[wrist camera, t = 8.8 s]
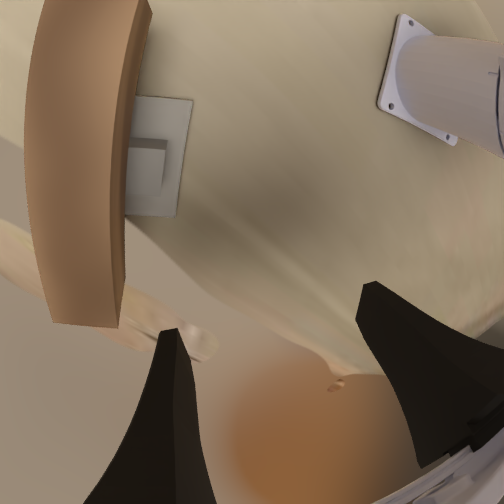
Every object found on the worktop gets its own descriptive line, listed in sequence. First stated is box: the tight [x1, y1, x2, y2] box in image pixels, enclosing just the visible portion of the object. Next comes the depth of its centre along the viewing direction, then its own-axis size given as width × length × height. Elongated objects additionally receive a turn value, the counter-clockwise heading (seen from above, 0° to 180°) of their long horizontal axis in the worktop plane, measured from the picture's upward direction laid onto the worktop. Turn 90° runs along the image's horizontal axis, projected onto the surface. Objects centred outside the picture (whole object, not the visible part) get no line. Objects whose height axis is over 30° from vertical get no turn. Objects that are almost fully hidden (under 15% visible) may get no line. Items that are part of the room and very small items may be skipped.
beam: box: [24, 0, 153, 328], centre depth 10 cm, size 4×14×4 cm, turn 167°
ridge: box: [125, 95, 193, 218], centre depth 13 cm, size 9×7×3 cm
